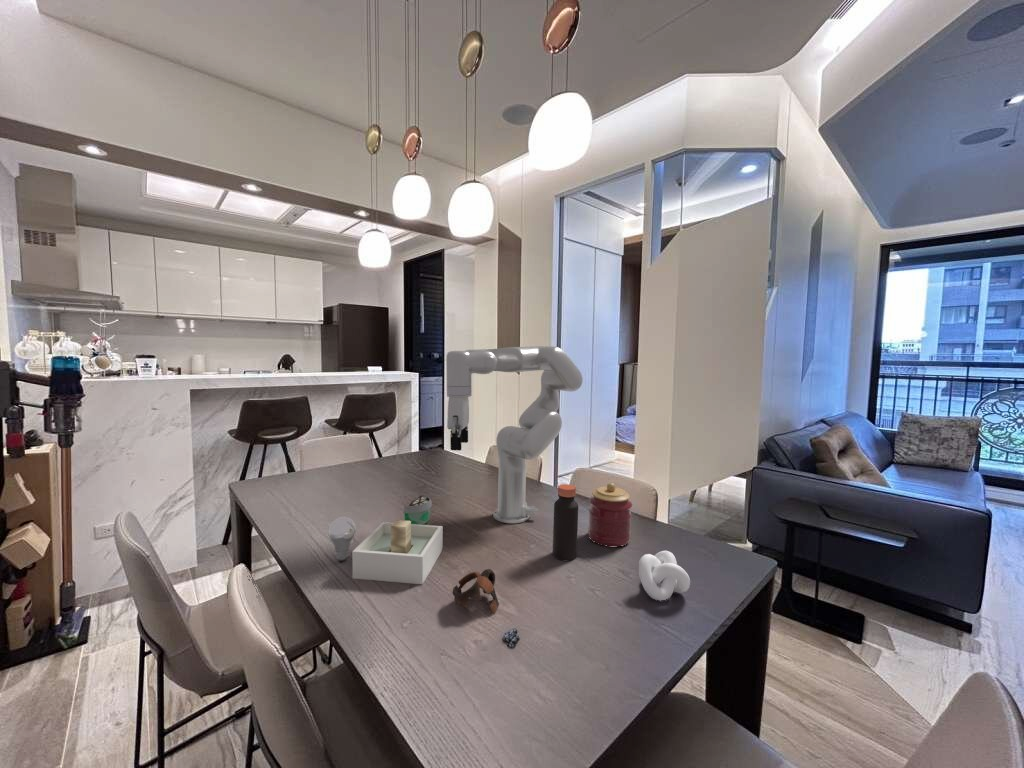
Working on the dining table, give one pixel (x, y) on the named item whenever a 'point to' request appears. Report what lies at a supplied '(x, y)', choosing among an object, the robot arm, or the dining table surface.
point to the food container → (418, 510)
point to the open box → (397, 557)
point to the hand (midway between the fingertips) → (459, 446)
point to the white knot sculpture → (662, 575)
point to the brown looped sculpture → (477, 589)
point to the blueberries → (511, 638)
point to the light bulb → (342, 536)
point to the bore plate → (416, 544)
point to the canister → (610, 516)
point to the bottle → (565, 523)
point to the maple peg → (401, 536)
